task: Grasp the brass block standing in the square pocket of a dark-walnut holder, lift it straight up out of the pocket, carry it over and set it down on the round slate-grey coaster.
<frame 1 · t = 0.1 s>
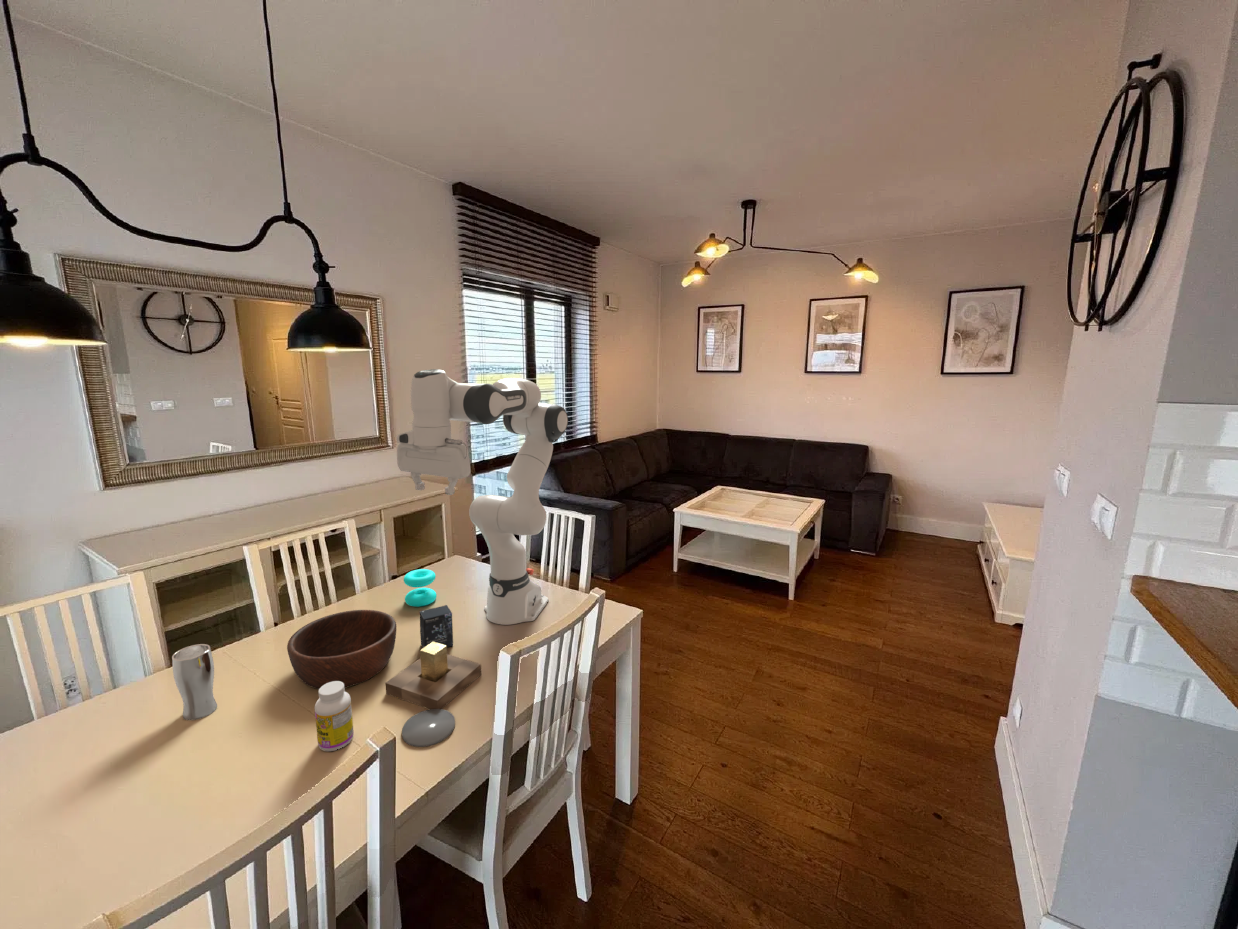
hand: (434, 491, 126), 48 cm above the table, fingers open, 8 cm apart
donuts: (421, 601, 171), on the table
wooden bowl: (347, 668, 134), on the table
pocket: (435, 683, 127), on the table
supplement bottle: (336, 742, 108), on the table
beer glass: (200, 712, 115), on the table
coaster: (429, 728, 112), on the table
part: (435, 684, 127), resting in pocket
box: (437, 646, 145), on the table
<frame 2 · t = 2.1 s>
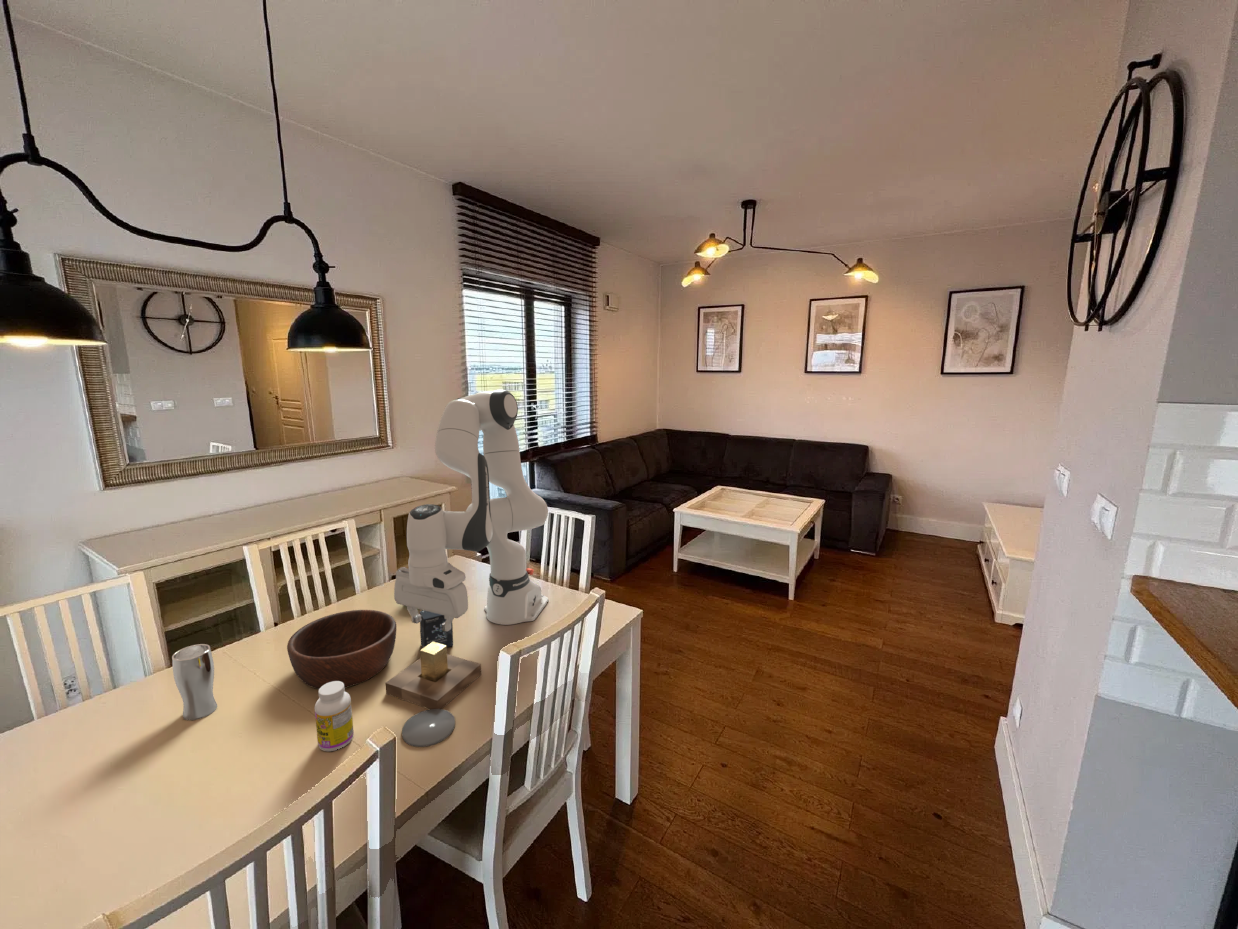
hand: (431, 626, 124), 16 cm above the table, fingers open, 8 cm apart
nothing on the table moved.
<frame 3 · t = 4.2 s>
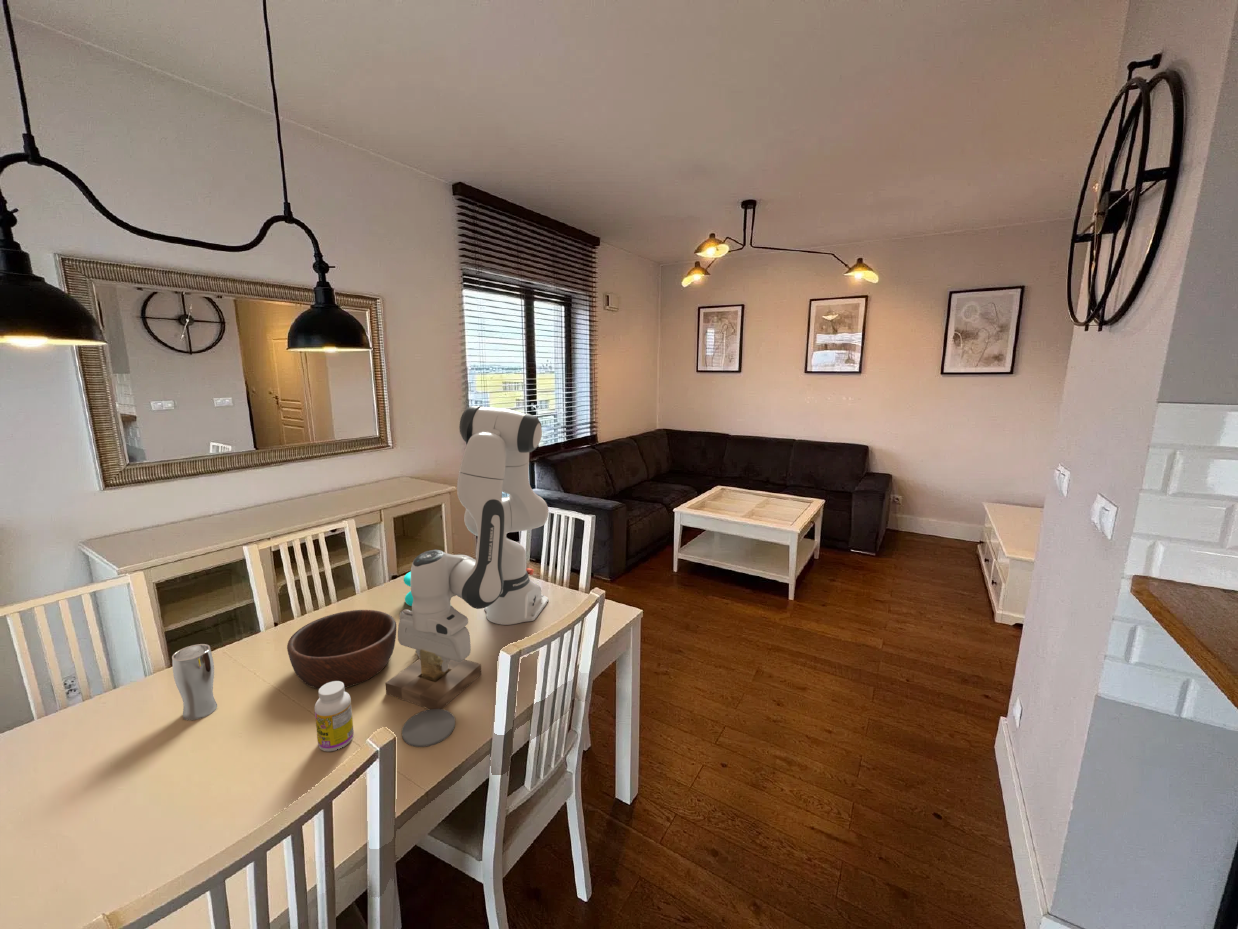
hand: (434, 667, 127), 5 cm above the table, fingers closed on part, 4 cm apart
part: (435, 683, 127), resting in pocket, touching gripper
everything else where it was.
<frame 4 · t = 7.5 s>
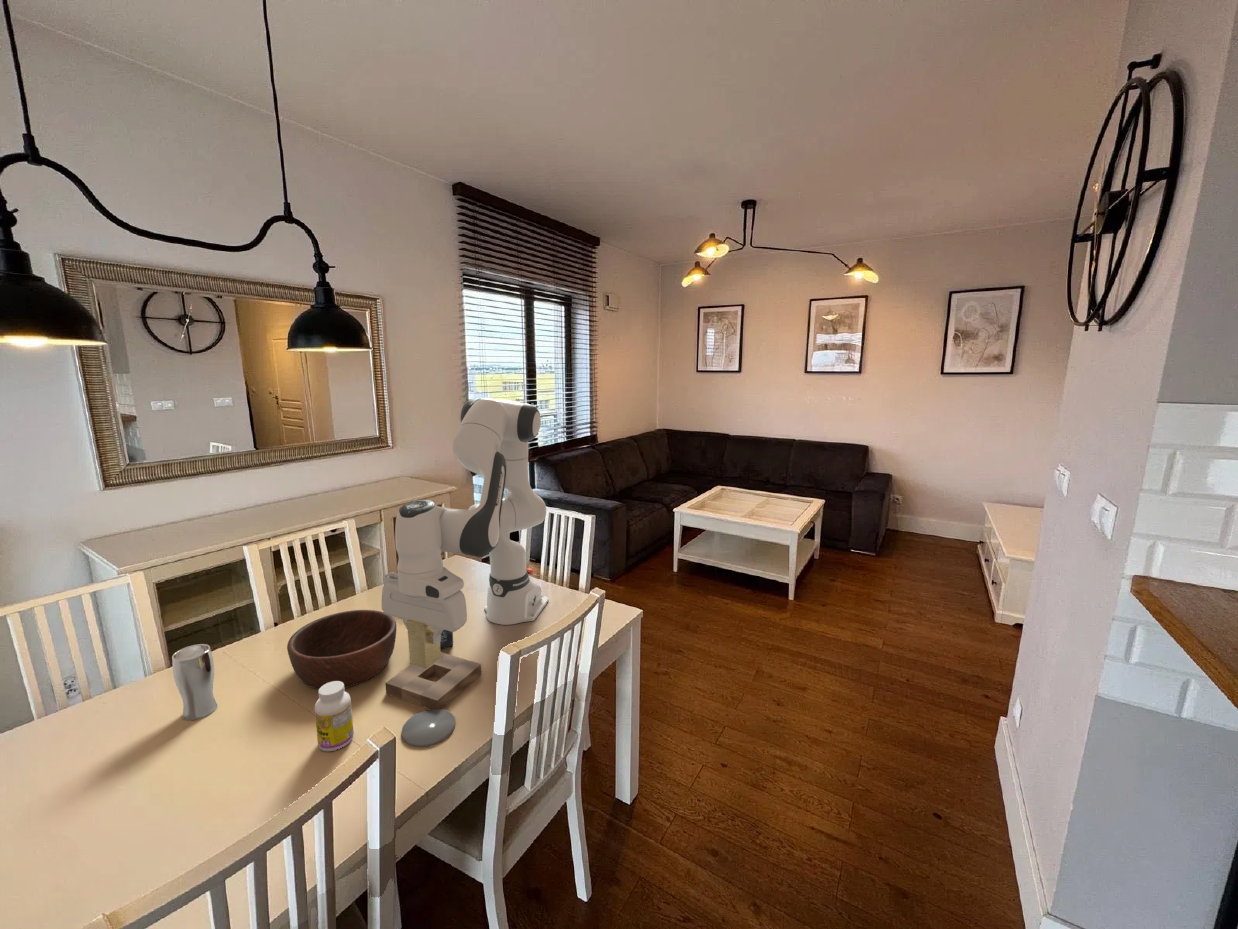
hand: (424, 640, 108), 22 cm above the table, fingers closed on part, 4 cm apart
part: (425, 661, 108), point 17 cm above the table, touching gripper
everything else where it was.
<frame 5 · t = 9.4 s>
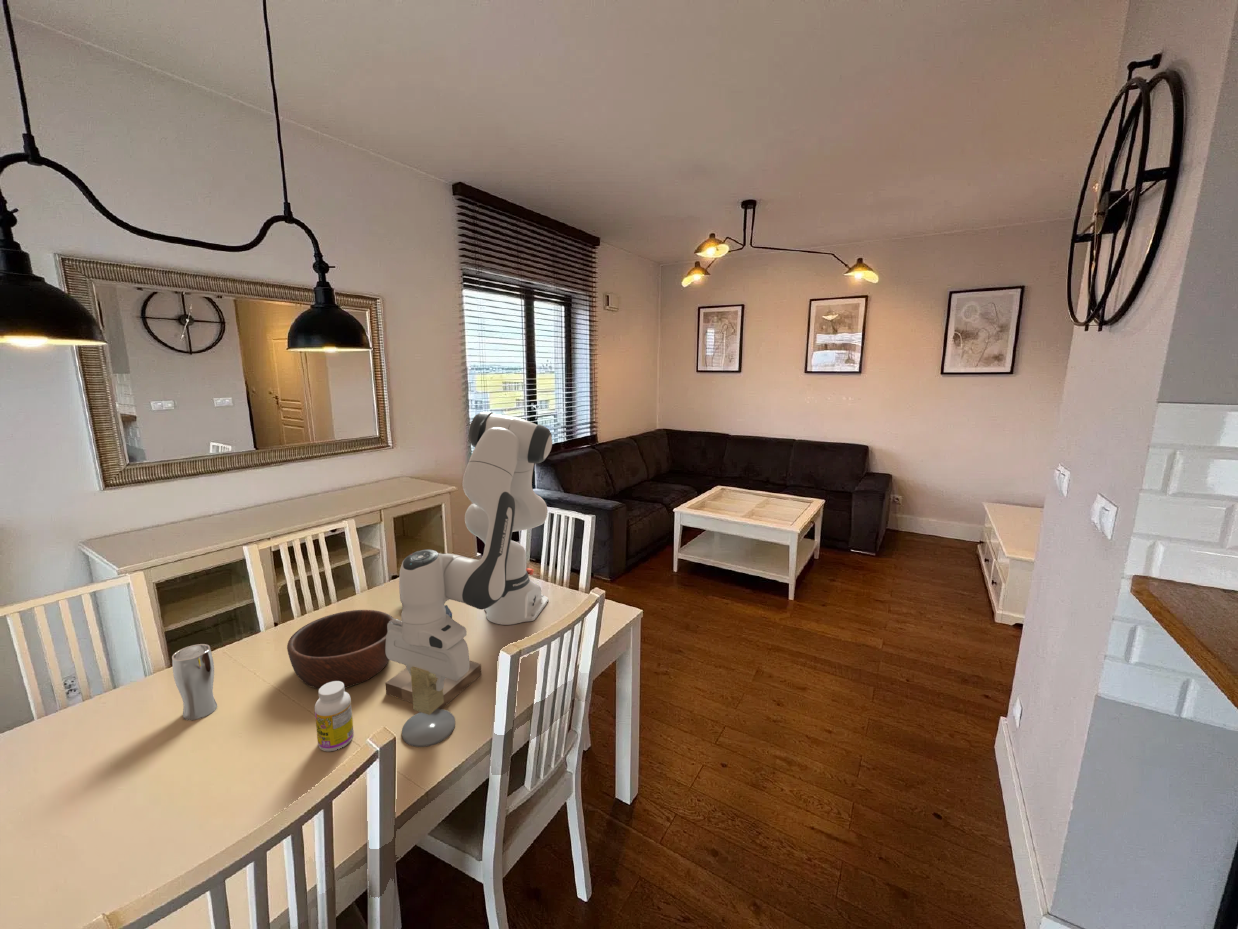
hand: (427, 685, 110), 11 cm above the table, fingers closed on part, 4 cm apart
part: (428, 706, 111), point 6 cm above the table, touching gripper
everything else where it was.
when the fingers open (7 cm above the table, at t = 11.0 s): part stays where it is, resting on coaster.
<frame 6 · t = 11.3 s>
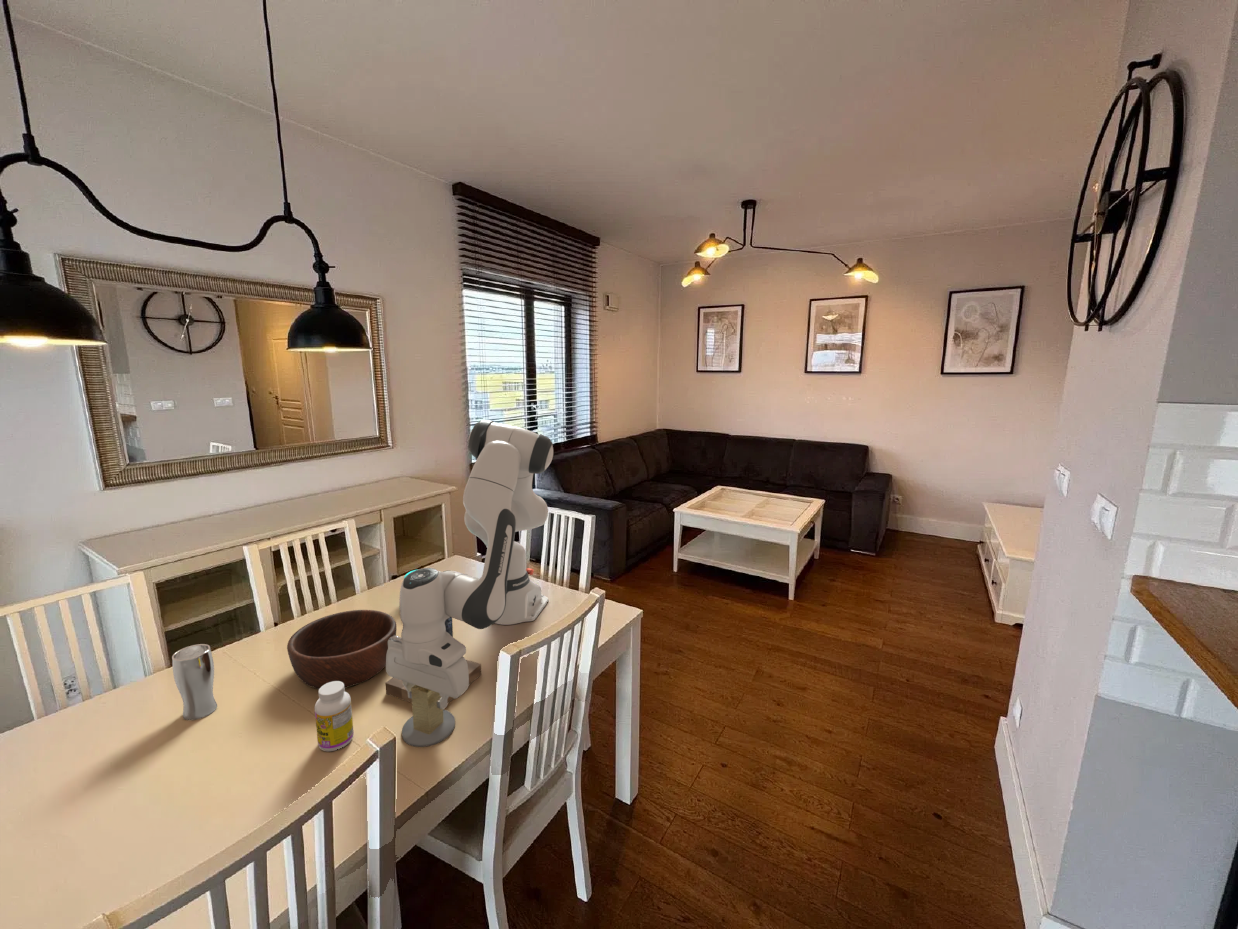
hand: (427, 702, 111), 7 cm above the table, fingers open, 7 cm apart
part: (428, 725, 112), point 1 cm above the table, touching coaster
everything else where it was.
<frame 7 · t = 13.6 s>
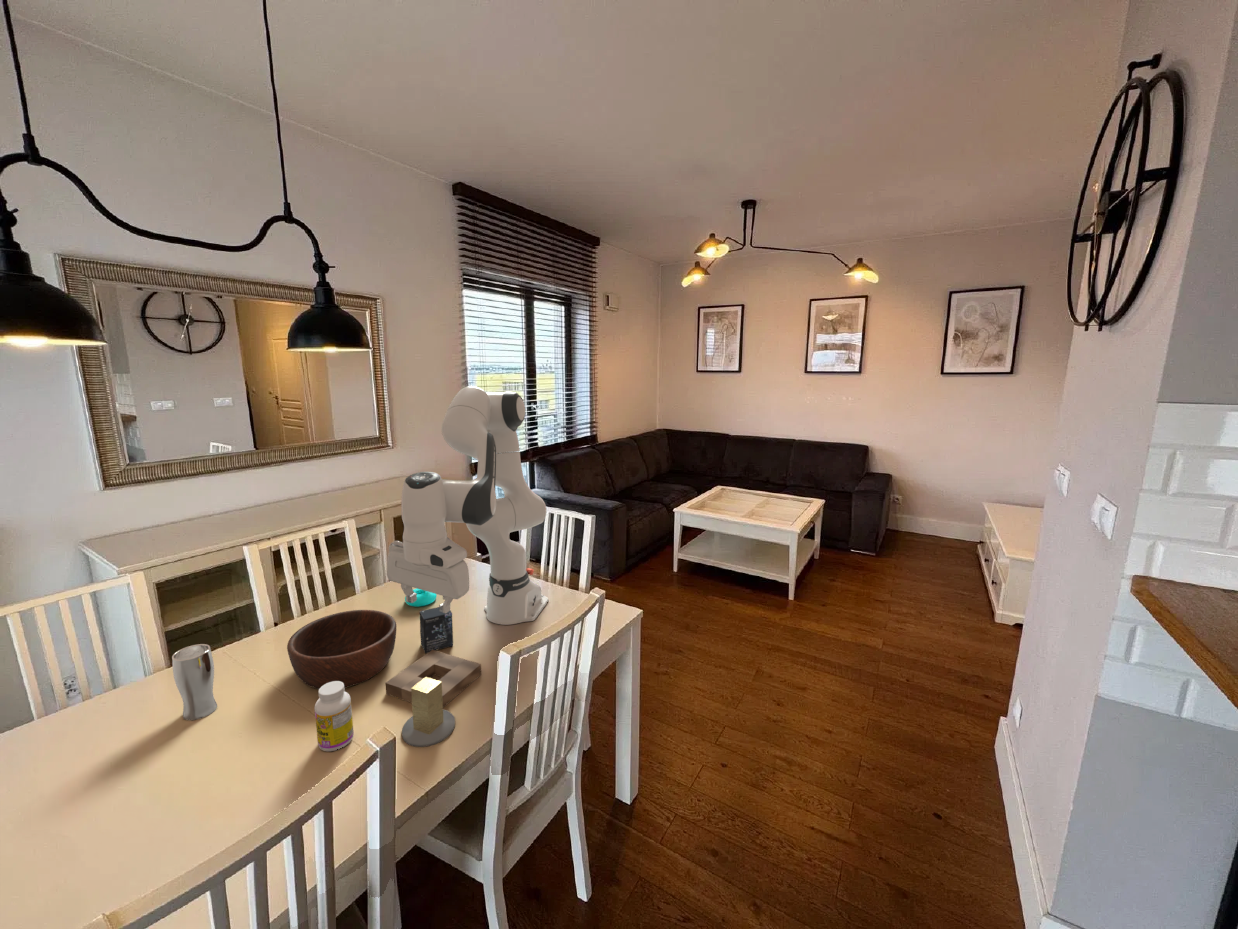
hand: (428, 606, 112), 27 cm above the table, fingers open, 8 cm apart
nothing on the table moved.
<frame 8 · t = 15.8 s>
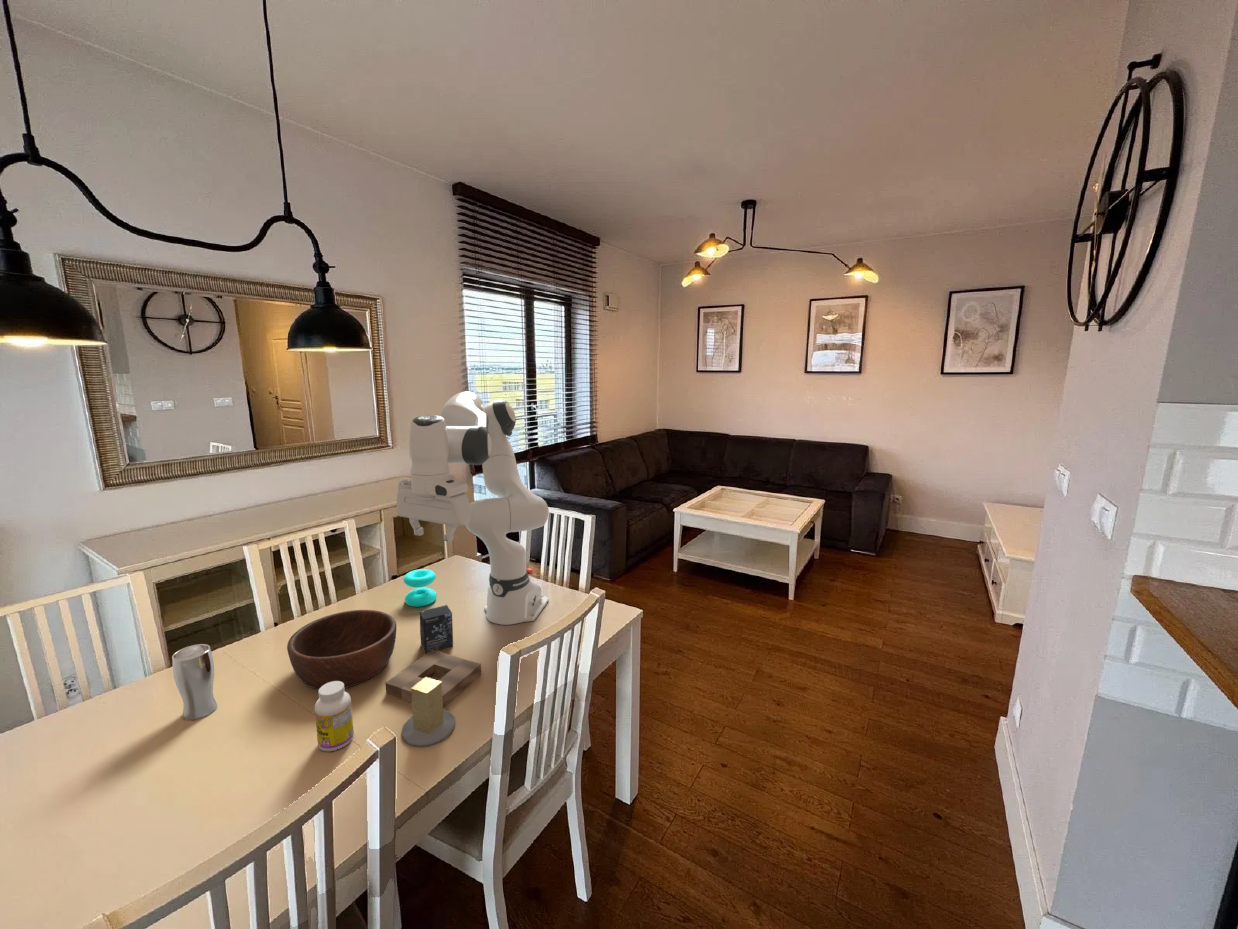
hand: (433, 537, 125), 37 cm above the table, fingers open, 8 cm apart
nothing on the table moved.
at the end: part inside the target area on the coaster (0.0 cm from its centre), point 0.8 cm above the coaster's base; part tilted 0°; the gripper is holding nothing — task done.
